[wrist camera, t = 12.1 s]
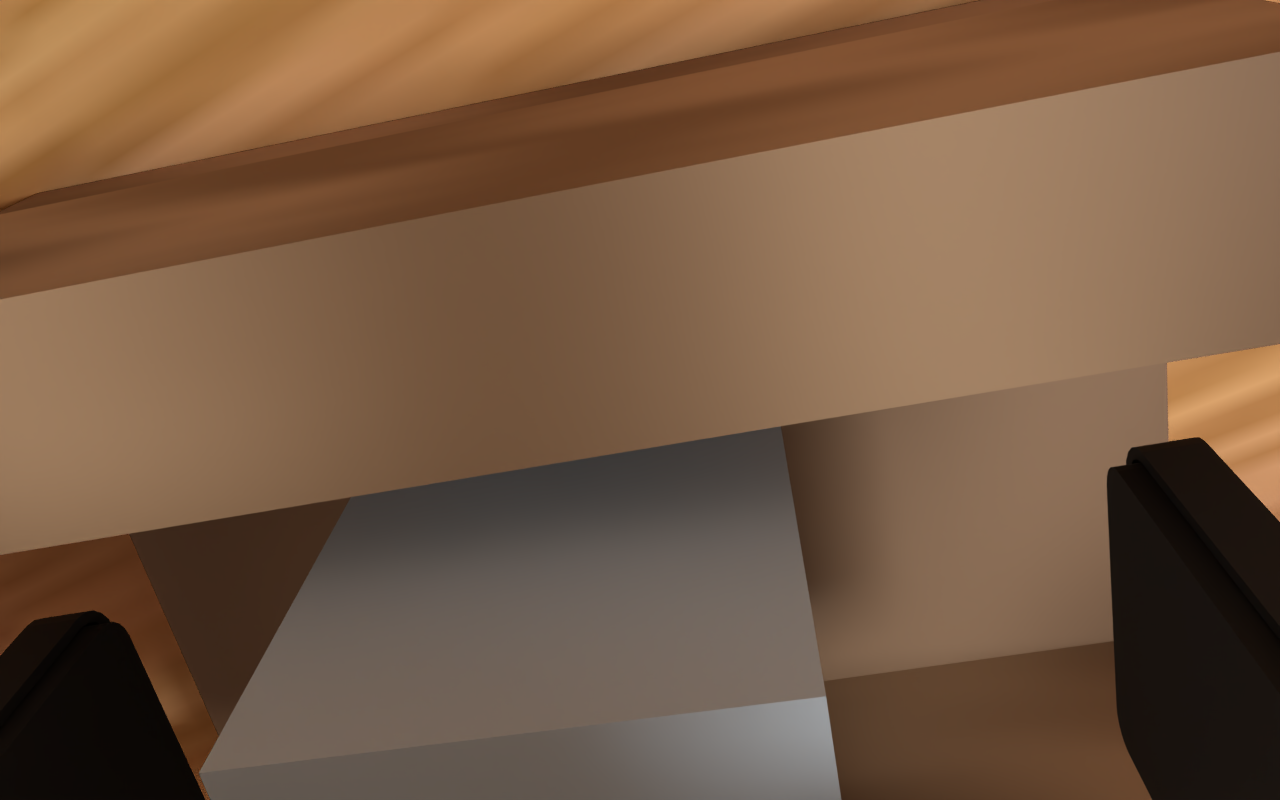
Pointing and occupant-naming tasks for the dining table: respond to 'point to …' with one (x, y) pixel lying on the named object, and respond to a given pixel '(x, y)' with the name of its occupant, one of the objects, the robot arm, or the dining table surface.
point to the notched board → (695, 341)
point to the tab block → (549, 642)
